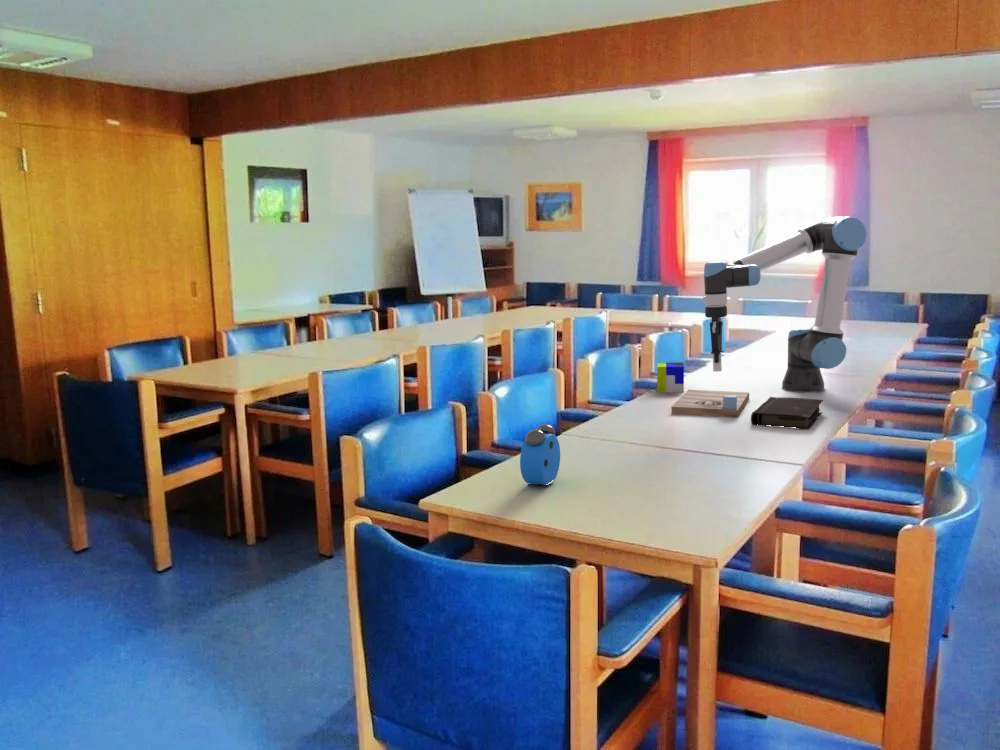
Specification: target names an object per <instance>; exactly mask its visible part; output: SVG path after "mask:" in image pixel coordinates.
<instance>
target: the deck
mask: <svg viewBox="0 0 1000 750" xmlns="http://www.w3.org/2000/svg"><path fill="white" fill-rule="evenodd" d="M723 395H736V397H737V409H724V407H723ZM707 401H710V402H712V403H713V405H705V404H704V403H705V402H707ZM748 401H750V391H748V392H746V391H726V390H725V391H724V390H723V391H722V390H709V389H707V390H703V389H702V390H701V389H688V390H686V391H685V392H684V393H683V395H681V396H680V397H679V398H678V400H676V401H675V402H674V403H673V405H671V414H673V415H687V416H689V415H690V416H704V415H708V416H709V417H721V416H722V417H723V416H724V417H725V418H738V417H739V416H740V414H741V413H742V411H743V410H744V408H745V407H746V405H747V403H748ZM722 417H721V418H722Z"/></svg>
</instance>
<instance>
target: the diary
mask: <svg viewBox="0 0 1000 750" xmlns="http://www.w3.org/2000/svg"><path fill="white" fill-rule="evenodd" d="M822 402H823V399H816V398H805V397H776V396H775V397H774V396H770V397H769V398H768V399H767V400H766V401H765V402H763V403H762V404H760V406H759V407H758V408H757V409H755V410H754V411H752V413H751V415H750V423H751V425H752V426H757V424H758V425H762V426H761V427H767V426H766V425H771V426H784V427H796V428H799V429H798V430H804V429H806V430H810V429H811V428H812V427H813V426H814V424H815V423H816V421H817V420H818V419H819V417H820V416H821V415H822V414H823V412H821V408H820V405H821V404H822ZM763 425H764V426H763ZM811 426H812V427H811Z"/></svg>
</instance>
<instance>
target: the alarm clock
mask: <svg viewBox="0 0 1000 750" xmlns="http://www.w3.org/2000/svg"><path fill="white" fill-rule="evenodd" d="M519 458H520V459H519V469H520V473H521V476H522V479H523V480H524V482H525V483H526V482H527V484H528V483H535V484H534V485H538V484H544V485H543V486H547V485H546V484H548V483H549V482H551V481H552V480H554V479H555V480H556V479H557V477H558V474H559V471H560V470H559V469H560V466H561V465H560V464H561V447H560V442H559V439H558V437H557V436H556V430H555V428H554V426H553V425H550V424H548V423H544V424H540V425H538V426H537V428H536V429H531V430H530V431H528V432H527V433H526V436H525V439H524V440H523V443H522V447H521V450H520V456H519ZM555 480H554V481H555Z"/></svg>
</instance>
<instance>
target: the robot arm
mask: <svg viewBox="0 0 1000 750" xmlns="http://www.w3.org/2000/svg"><path fill="white" fill-rule="evenodd" d="M866 240H867V229H866V226H865V225H864V223H863V222H862V220H860V219H859V218H856V217H854V216H848V215H847V216H845V215H843V216H829V217H828V216H827V217H825V218H824V217H823V218H822V219H820V220H817V221H814V222H813V223H811V224H808V225H807V226H805V227H802V228H799V229H798V230H797V233H795V234H793V235H790V236H789V237H788V236H787V237H786V238H783V239H781V240H778V241H777V242H774V243H772V244H769V245H767V246H764V247H762V248H760V249H758V250H755V251H753V252H751V253H749V254H746V255H744V256H741V257H739V258H737V259H734V260H732V261H730V262H728V263H727V262H725V261H724V260H723V261H719V260H718V261H707V262H706V263H705V264H704V266H703V268H704V269H703V278H704V279H703V280H704V282H703V283H704V284H703V285H704V296H703V297H702V299H703V300H704V305H705V307H704V316H705V317H706V318H710V319H711V321H710V322H709V331H710V343H711V351H710V354H712V370H713V372H722V370H723V368H722V367H723V365H722V353H724V350H722V349H723V325H724V323H723V321H722V318H725V317H727V316H728V307H727V304H728V292H727V290H728V289H729V288H741V287H752V286H754V287H755V286H758V285H759V283H760V281H761V278H762V277H761V272H762V271H764V270H767V269H770V268H771V267H774V266H776V265H778V264H781V263H784V262H785V261H788V260H790V259H793V258H795V257H797V256H799V255H802V254H804V253H805V254H812V253H814V252H816V251H821V254H822V255H823V257H824V258H825V259H824V266H823V272H822V279H821V283H820V292H819V296H818V303H817V308H816V309H817V310H816V315H815V321H814V324H813V325H811V327H810V328H804V329H803V328H802V329H791V330H789V332H788V335H787V336H788V337H787V369H786V371H785V374H784V377H783V380H782V384H781V389H783V390H786V391H789V392H796V393H800V392H801V393H814V392H816V393H817V392H821V391H822V392H823V391H824V390H825V380H824V378H823V375H822V372H821V369H825V370H830V369H834V368H837V367H838V366H839V365H841V364H842V362H844V360H845V358H846V355H847V347H846V343H844V341H843V339H844V331H843V330H842V329H841V322H842V316H843V311H844V305H845V300H846V293H847V289H848V288H847V287H848V281H849V276H850V271H851V266H852V265H851V264H852V261H853V260H855V259H856V258H857V256H858V251H859V249H860V248H861V247H862V246H863V245H865V242H866Z"/></svg>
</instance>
